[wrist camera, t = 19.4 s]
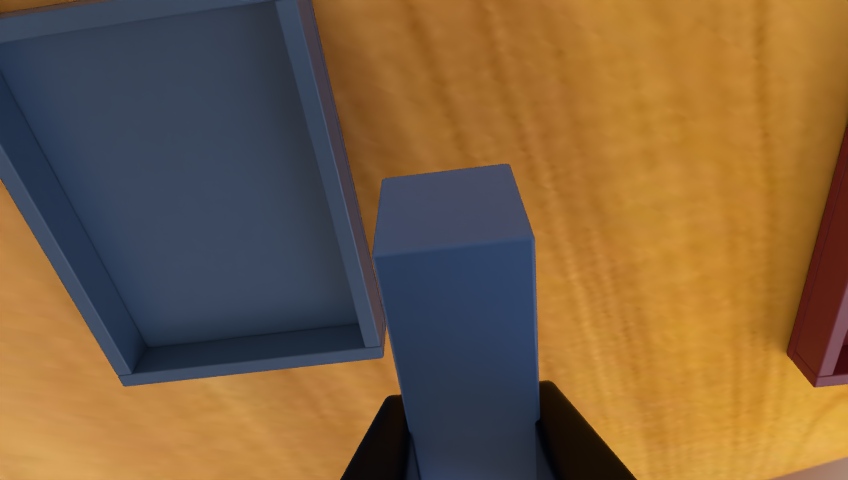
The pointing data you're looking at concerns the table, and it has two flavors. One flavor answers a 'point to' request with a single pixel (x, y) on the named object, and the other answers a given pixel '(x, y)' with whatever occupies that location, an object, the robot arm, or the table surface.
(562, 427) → the robot arm
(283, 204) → the blue tray
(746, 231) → the table surface
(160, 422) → the table surface
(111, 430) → the table surface
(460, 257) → the blue spoon
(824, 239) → the red tray
